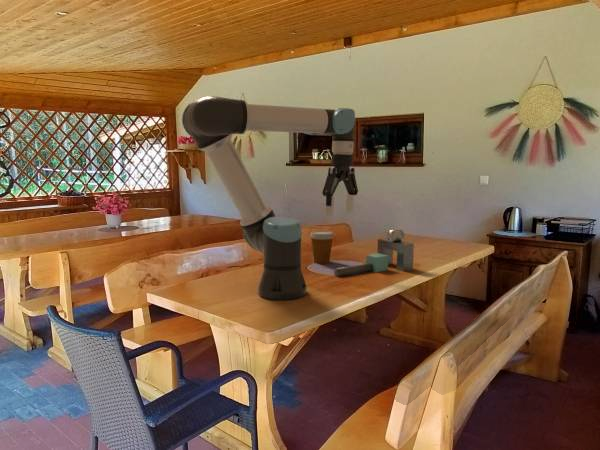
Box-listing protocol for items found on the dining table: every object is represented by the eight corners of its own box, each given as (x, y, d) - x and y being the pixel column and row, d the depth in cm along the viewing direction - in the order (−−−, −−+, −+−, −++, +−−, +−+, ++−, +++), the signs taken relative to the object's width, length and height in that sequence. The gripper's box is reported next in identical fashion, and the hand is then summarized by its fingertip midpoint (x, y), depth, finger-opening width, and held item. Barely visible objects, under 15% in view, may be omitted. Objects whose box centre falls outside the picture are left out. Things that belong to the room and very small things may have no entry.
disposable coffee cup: (331, 264, 193) (332, 234, 191) (308, 263, 195) (308, 233, 193) (335, 259, 202) (335, 230, 200) (312, 258, 204) (312, 230, 202)
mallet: (341, 278, 173) (341, 262, 172) (331, 274, 177) (332, 259, 177) (387, 270, 184) (388, 255, 184) (378, 267, 189) (378, 253, 188)
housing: (403, 271, 183) (404, 233, 180) (377, 263, 195) (378, 227, 193) (412, 269, 185) (414, 231, 183) (386, 262, 197) (387, 226, 195)
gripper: (332, 153, 160) (329, 217, 163) (369, 155, 180) (366, 212, 183) (313, 152, 164) (311, 215, 167) (351, 154, 184) (348, 210, 187)
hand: (339, 214), depth 175 cm, fingers open, 13 cm apart
